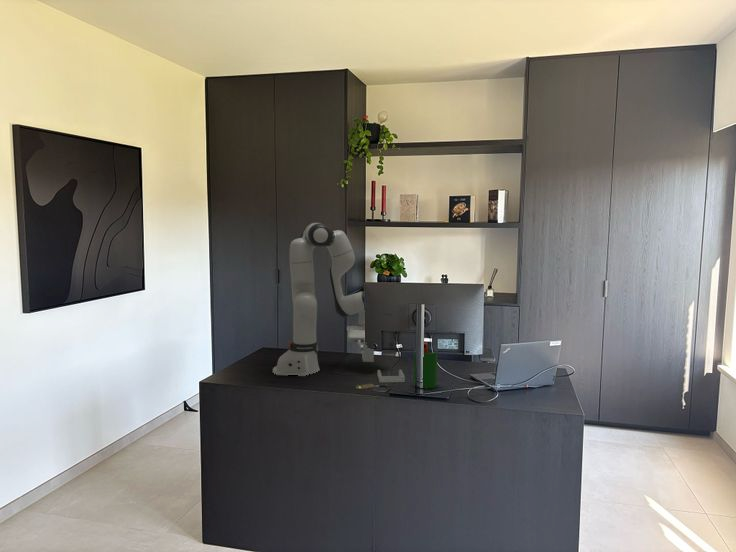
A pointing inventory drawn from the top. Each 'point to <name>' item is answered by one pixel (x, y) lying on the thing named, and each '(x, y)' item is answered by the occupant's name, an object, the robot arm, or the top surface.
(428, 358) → the green utensil holder
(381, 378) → the bracket
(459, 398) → the top surface
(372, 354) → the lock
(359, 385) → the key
